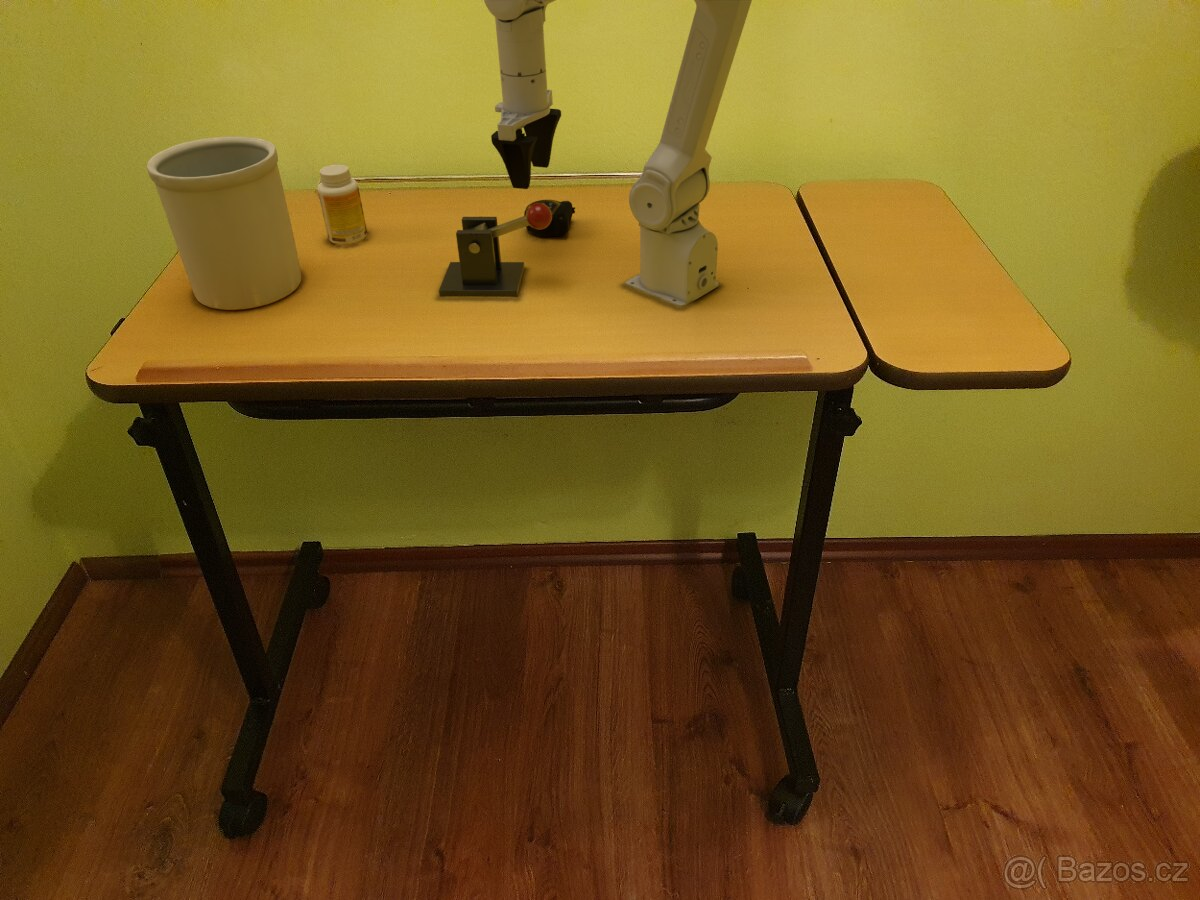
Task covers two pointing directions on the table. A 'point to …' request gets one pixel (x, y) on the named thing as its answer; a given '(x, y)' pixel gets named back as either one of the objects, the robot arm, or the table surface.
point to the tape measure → (554, 218)
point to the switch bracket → (481, 265)
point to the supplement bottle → (341, 205)
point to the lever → (522, 221)
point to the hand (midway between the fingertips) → (531, 176)
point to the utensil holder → (229, 220)
